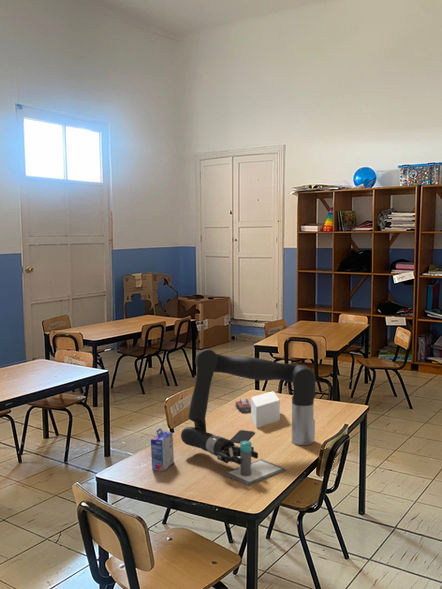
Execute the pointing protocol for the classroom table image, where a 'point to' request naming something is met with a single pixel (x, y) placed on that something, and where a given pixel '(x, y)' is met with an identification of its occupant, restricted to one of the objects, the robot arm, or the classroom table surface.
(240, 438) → the phone
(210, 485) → the classroom table surface
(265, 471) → the mat
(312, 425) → the robot arm
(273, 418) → the white box
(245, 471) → the marker
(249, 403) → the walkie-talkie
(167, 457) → the ink cartridge box
